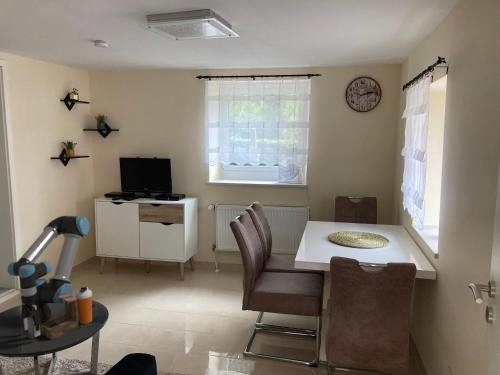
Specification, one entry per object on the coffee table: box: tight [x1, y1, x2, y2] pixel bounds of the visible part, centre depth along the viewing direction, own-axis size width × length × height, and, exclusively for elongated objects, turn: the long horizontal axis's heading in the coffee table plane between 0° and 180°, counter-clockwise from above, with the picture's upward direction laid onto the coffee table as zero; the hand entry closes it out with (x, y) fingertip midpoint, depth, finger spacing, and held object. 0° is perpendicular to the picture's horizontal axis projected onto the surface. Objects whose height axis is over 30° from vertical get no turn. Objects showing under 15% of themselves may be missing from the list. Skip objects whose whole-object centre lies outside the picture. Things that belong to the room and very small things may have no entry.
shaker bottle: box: [75, 286, 93, 325], centre depth 239 cm, size 9×9×20 cm
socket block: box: [39, 293, 80, 341], centre depth 228 cm, size 12×16×18 cm
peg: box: [27, 316, 38, 341], centre depth 221 cm, size 4×4×12 cm
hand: (32, 332), depth 222 cm, fingers open, 11 cm apart
